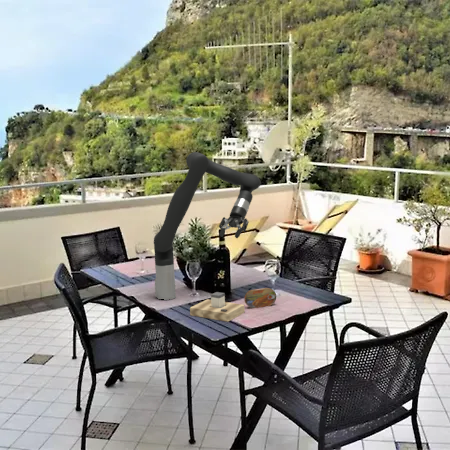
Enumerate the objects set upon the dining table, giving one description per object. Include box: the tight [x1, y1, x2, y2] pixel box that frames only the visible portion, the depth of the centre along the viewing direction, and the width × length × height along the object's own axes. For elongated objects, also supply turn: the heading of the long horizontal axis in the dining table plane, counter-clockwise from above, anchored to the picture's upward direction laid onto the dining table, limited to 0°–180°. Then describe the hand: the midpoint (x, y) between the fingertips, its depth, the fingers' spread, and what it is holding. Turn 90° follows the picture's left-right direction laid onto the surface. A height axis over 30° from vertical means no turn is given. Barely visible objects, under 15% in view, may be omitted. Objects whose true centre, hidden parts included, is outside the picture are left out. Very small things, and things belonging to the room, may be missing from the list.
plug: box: [210, 291, 226, 308], centre depth 252 cm, size 4×4×9 cm
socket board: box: [189, 299, 246, 322], centre depth 251 cm, size 20×14×4 cm
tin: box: [243, 287, 277, 309], centre depth 260 cm, size 15×3×8 cm, turn 106°
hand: (228, 236), depth 269 cm, fingers open, 8 cm apart
